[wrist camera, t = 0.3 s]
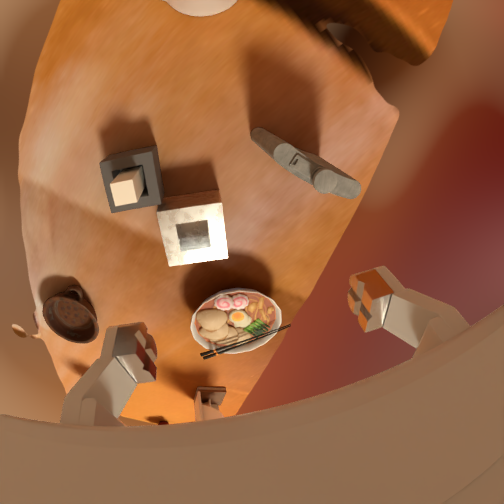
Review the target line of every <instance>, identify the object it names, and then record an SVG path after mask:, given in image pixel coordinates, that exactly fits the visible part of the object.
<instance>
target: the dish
mask: <svg viewBox="0 0 504 504" xmlns="http://www.w3.org/2000/svg"><path fill="white" fill-rule="evenodd" d="M71 290H74V291H76V292H77V293H78V295H77V294H75V293H71V292H70V291H71ZM43 316H44V319H45V321H46V323H47V324H48V326H49V327H50V328H51V329H52V330H53V331H54V332H55V333H56V334H57V335H59V336H60V337H62V338H64V339H66V340H68V341H71V342H74V343H89V342H92V341H93V340H95V339H96V337H97V335H98V332H99V327H98V323H97V317H96V314H95V311H94V309H93V307H92V306H91V305H90V304H89V303H88V301H87V300H86V299H84V298H83V293H82V290H81V288H80V287H79V286H77V285H72V286H69V287H68V288H67V290H66V292H62V293H59V294H57V295H55V296H54V297H51V298H49V299H48V300H47V301H46V302H45V303H44V306H43Z"/></svg>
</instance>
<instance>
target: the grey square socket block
mask: <svg viewBox="0 0 504 504" xmlns="http://www.w3.org/2000/svg"><path fill="white" fill-rule="evenodd" d="M99 164H100V168H101V173H102V177H103V182H104V186H105V190H106V194H107V198H108V202H109V206H110V209H111V213H115V212H121V211H126V210H131V209H137V208H142V207H148V206H154V205H160V204H162V200H163V197H164V193H165V192H164V187H163V181H162V175H161V169H160V163H159V157H158V150H157V145H155V146H150V147H145V148H140V149H135V150H130V151H126V152H121V153H117V154H113V155H109V156H107V157H106V158H105V159H104V160H102V161H101V162H100V163H99ZM139 166H142V169H143V174H144V180H145V185H146V186H145V188H144V190H143V192H142V194H141V196H140V198H139V200H138V202H136V203H131V204H125V205H120V206H115V203H114V199H113V195H112V191H111V187H110V183H111V182H112V181H113V180H114V179H115V178H116V176H117V175H118V174H119V173H120V172H121V171H122V170H124V169H129V168H134V167H139Z"/></svg>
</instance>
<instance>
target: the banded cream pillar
mask: <svg viewBox="0 0 504 504" xmlns="http://www.w3.org/2000/svg"><path fill="white" fill-rule="evenodd" d="M225 394H226V388H217V387H197V390H196V394H195V398H194V409H195V420H196V421H204V420H211V419H218V418H224V416H223V415H222V413H221V412H219V408H218V405H221V403H222V401H223V399H224V396H225Z"/></svg>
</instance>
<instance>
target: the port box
mask: <svg viewBox="0 0 504 504" xmlns="http://www.w3.org/2000/svg"><path fill="white" fill-rule="evenodd" d="M157 217H158V221H159V226H160V230H161V234H162V239H163V243H164V247H165V251H166V255H167V259H168V263H169V266H176V265H183V264H190V263H197V262H204V261H210V260H217V259H224V258H228V253H227V244H226V236H225V227H224V218H223V209H222V201H221V197H220V192H219V190H212V191H205V192H198V193H191V194H184V195H178V196H171V197H165V198H163V200H162V204H160V205H159V206H158V209H157Z"/></svg>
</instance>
